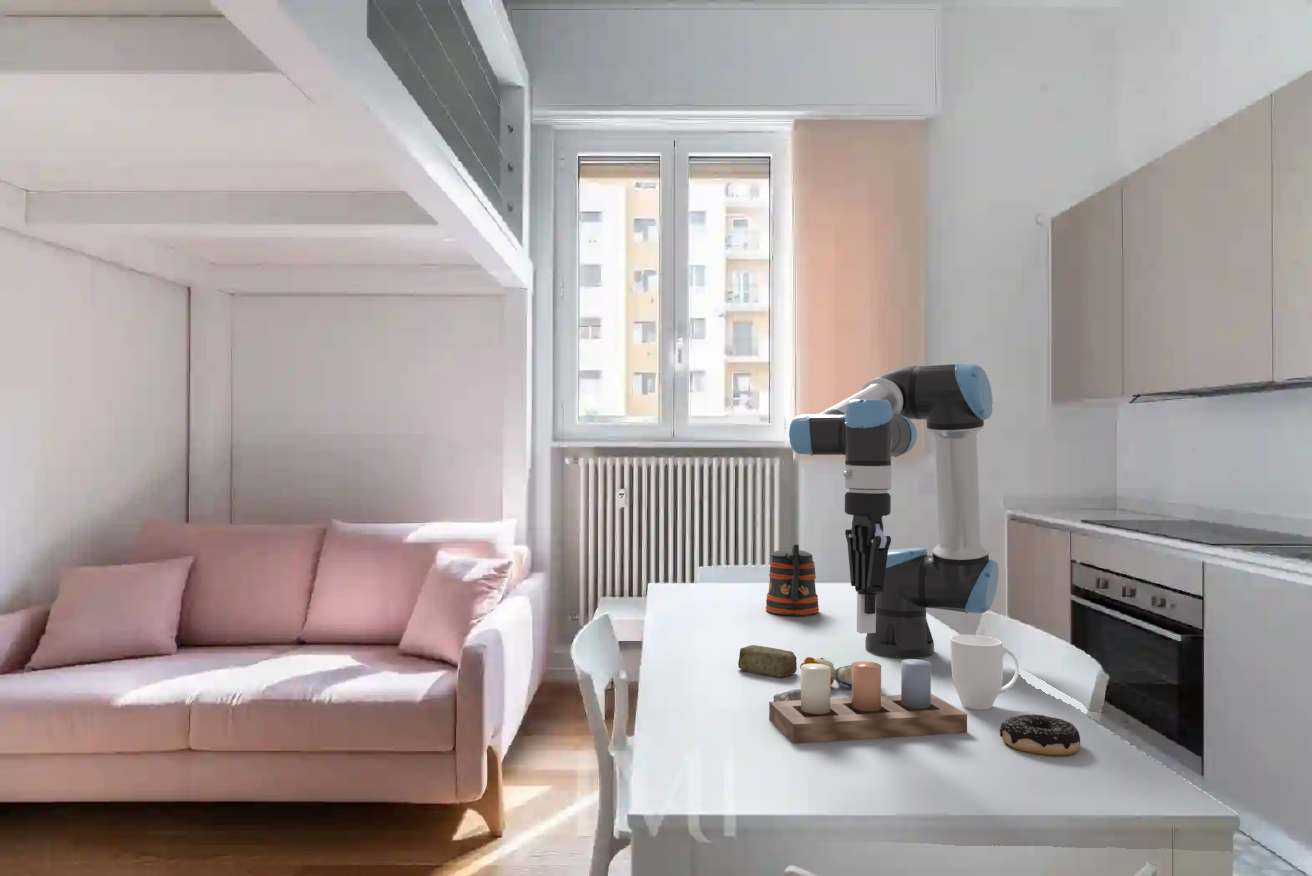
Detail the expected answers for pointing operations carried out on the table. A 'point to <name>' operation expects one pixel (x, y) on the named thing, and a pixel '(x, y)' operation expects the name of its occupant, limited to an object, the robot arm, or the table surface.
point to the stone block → (767, 661)
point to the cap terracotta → (866, 686)
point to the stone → (788, 696)
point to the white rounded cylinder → (815, 688)
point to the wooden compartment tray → (866, 720)
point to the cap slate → (916, 683)
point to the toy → (833, 671)
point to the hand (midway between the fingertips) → (866, 632)
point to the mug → (979, 669)
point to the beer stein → (792, 583)
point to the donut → (1040, 735)
